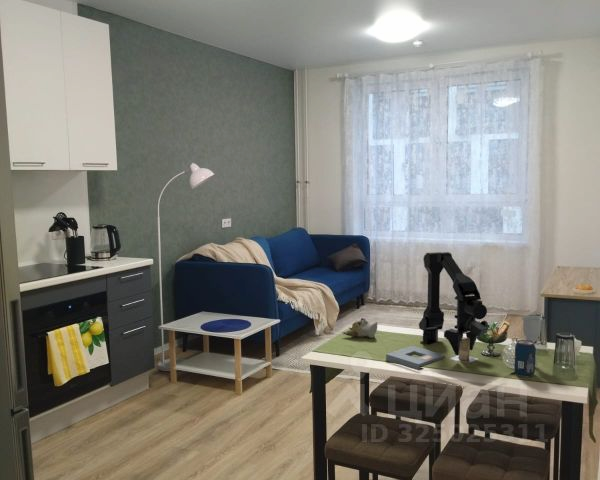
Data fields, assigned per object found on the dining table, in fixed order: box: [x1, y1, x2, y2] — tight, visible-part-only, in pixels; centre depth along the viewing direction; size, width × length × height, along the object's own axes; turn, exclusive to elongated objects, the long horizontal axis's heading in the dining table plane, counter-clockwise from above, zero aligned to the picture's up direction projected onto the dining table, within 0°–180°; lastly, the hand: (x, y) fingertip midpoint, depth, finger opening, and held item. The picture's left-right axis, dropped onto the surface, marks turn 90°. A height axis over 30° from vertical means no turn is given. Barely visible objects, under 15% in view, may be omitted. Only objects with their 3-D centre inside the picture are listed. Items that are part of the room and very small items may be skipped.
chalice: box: [521, 315, 543, 366], centre depth 215 cm, size 7×7×18 cm
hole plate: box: [385, 345, 446, 372], centre depth 221 cm, size 16×16×3 cm
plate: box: [449, 355, 479, 365], centre depth 219 cm, size 8×8×2 cm
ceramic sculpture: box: [342, 318, 378, 339], centre depth 255 cm, size 11×9×15 cm
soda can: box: [514, 339, 536, 378], centre depth 204 cm, size 7×7×12 cm
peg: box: [459, 336, 471, 360], centre depth 218 cm, size 4×4×8 cm
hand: (464, 352), depth 218 cm, fingers open, 9 cm apart
